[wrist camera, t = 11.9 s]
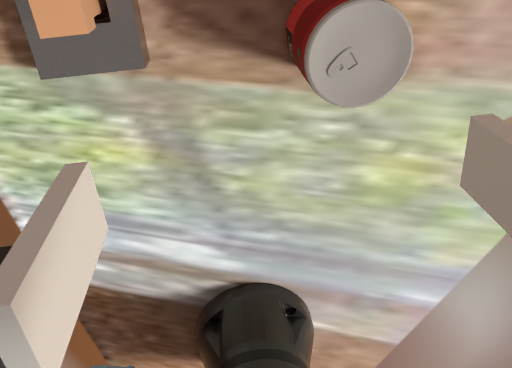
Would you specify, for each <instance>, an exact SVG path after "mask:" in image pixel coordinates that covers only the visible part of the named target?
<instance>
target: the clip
mask: <svg viewBox="0 0 512 368" xmlns="http://www.w3.org/2000/svg"><path fill="white" fill-rule="evenodd" d="M28 1H29V5H30V8H31V11H32V14H33V17H34V20H35V23H36V27H37V30H38V33H39V36H40V39H44V38H53V37H63V36H72V35H81V34H89V33H90V32H91V31H93V30H94V29H95V28H96V25H95V21H94V17H95V16H97V15H98V14H99V13H101V12H102V11H104V10H105V9H107V7H106V3H105V0H28Z"/></svg>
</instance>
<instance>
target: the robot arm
mask: <svg viewBox="0 0 512 368" xmlns="http://www.w3.org/2000/svg"><path fill="white" fill-rule="evenodd" d="M460 186H461V187H462V188H463V189H464V190H465V191H466V192H467V193H468V194H469V195H470V196H471V197H472V198H473V199H474V200H475V201H476V202H477V203H478V204H479V205H480V206H481V207H482V208H483V209H484V210H485V211H486V212H487V213H488V214H489V215H490V216H491V217H492V218H493V219H494V220H495V221H496V222H497V223H498V224H499V225H500V226H501V227H502V228H503V229H504V230H505V231H506V232H507V233H508V234H509V235H510V236H511V237H512V126H511V125H510V124H508V123H507V122H505V121H503V120H502V119H500V118H499V117H497V116H495V115H494V114H486V115H478V116H471V119H470V125H469V132H468V138H467V144H466V151H465V157H464V163H463V170H462V176H461V182H460ZM107 232H108V226H107V222H106V219H105V216H104V213H103V209H102V206H101V203H100V200H99V196H98V193H97V190H96V187H95V183H94V180H93V177H92V173H91V170H90V167H89V164H88V162H81V163H72V164H65V165H64V166H63V168H62V170H61V171H60V173H59V174H58V176H57V177H56V179H55V181H54V182H53V184H52V185H51V187H50V188H49V190H48V191H47V193H46V195H45V196H44V198H43V199H42V201H41V202H40V204H39V206H38V207H37V209H36V210H35V212H34V213H33V215H32V217H31V218H30V220H29V221H28V223H27V224H26V226H25V227H24V229H23V231H22V232H21V234H20V235H19V237H18V238H17V240H16V242H15V243H14V245H13V246H6V247H0V368H60V367H61V364H62V361H63V359H64V356H65V353H66V350H67V347H68V344H69V341H70V338H71V336H72V332H73V330H74V327H75V324H76V321H77V318H78V316H79V313H80V310H81V307H82V304H83V301H84V298H85V295H86V293H87V290H88V287H89V284H90V281H91V278H92V275H93V272H94V270H95V267H96V264H97V261H98V258H99V255H100V252H101V249H102V247H103V244H104V241H105V238H106V235H107ZM313 338H314V329H313V323H312V320H311V316H310V312H309V310H308V307H307V306H306V304H305V303H304V301H303V300H302V299H301V298H300V297H298V296H297V295H296V294H294V293H293V292H291V291H289V290H287V289H285V288H282V287H279V286H275V285H269V284H249V285H243V286H239V287H236V288H233V289H230V290H228V291H226V292H224V293H222V294H220V295H218V296H217V297H216V298H214V299H213V300H212V301H211V302H210V303H209V304H208V305H207V306H206V307H205V308H204V310H203V311H202V313H201V315H200V317H199V320H198V324H197V346H198V351H199V354H200V356H201V359H202V361H203V364H204V367H205V368H309V367H310V360H311V353H312V345H313ZM89 368H134V366H131V365H129V366H127V367H120V366H107V365H94V366H91V367H89Z"/></svg>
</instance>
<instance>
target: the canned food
mask: <svg viewBox="0 0 512 368" xmlns="http://www.w3.org/2000/svg"><path fill="white" fill-rule="evenodd" d="M285 42H286V46H287V49H288V51H289V53H290V55H291V57H292V59H293V60H294V62H295V63H296V65H297V67H298V68H299V70H300V71H301V73H302V74H303V76H304V77H305V79H306V80H307V82H308V83H309V85H310V86H311V87H312V88H313V90H314V91H315V92H316V93H317V94H318V95H319V96H320V97H321V98H323V99H324V100H325V101H327V102H329V103H331V104H333V105H336V106H340V107H348V108H355V107H361V106H365V105H368V104H371V103H374V102H376V101H378V100H380V99H381V98H383V97H384V96H386V95H387V94H388V93H390V92H391V91H392V90H393V89H394V88H395V87H396V86H397V85H398V84H399V82H400V81H401V79H402V78H403V77H404V75H405V73H406V71H407V69H408V67H409V65H410V62H411V58H412V55H413V44H414V43H413V34H412V30H411V28H410V25H409V23H408V21H407V19H406V18H405V16H404V15H403V14H402V13H401V12H400V11H399V10H398V9H397V8H396V7H395V6H393V5H392V4H390V3H388V2H386V1H384V0H299V1H298V2H297V4H296V5H295V6H294V7H293V9H292V11H291V13H290V15H289V17H288V20H287V23H286V29H285Z"/></svg>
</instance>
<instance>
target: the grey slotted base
mask: <svg viewBox="0 0 512 368" xmlns="http://www.w3.org/2000/svg"><path fill="white" fill-rule="evenodd" d="M15 3H16V6H17V9H18V12H19V15H20V18H21V21H22V24H23V27H24V30H25V33H26V36H27V39H28V42H29V45H30V48H31V52H32V55H33V58H34V61H35V64H36V67H37V70H38V73H39V76H40V79H41V80H43V79H52V78H61V77H70V76H79V75H88V74H97V73H106V72H115V71H124V70H133V69H142V68H146V66H147V64H148V62H149V60H150V58H149V54H148V49H147V44H146V39H145V34H144V29H143V24H142V19H141V15H140V10H139V5H138V0H106V3H107V7H108V12H109V16H110V17H109V18H100V19H94V21H95V25H96V28H95V29H94V30H93V31H91V32H90V33H89V34H81V35H72V36H63V37H53V38H44V39H40V36H39V33H38V30H37V27H36V23H35V20H34V17H33V14H32V11H31V8H30V5H29V1H28V0H15Z"/></svg>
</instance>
